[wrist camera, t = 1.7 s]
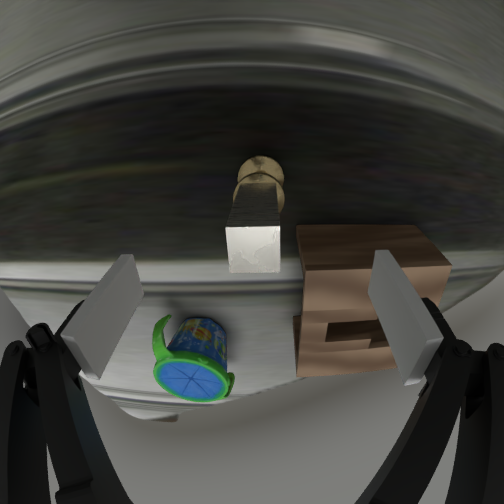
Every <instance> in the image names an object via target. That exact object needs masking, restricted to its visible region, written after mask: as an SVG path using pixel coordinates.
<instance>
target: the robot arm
mask: <svg viewBox="0 0 504 504" xmlns="http://www.w3.org/2000/svg"><path fill="white" fill-rule="evenodd" d="M367 293H368V295H369V297H370V299H371V302H372V304H373V306H374V309H375V311H376V313H377V316H378V318H379V321H380V323H381V325H382V328H383V330H384V333H385V335H386V338H387V340H388V343H389V346H390V348H391V351H392V353H393V356H394V359H395V362H396V364H397V367H398V370H399V373H400V375H401V378H402V381H403V384H404V385H410V384H415V383H419V382H420V380H421V379H422V377H423V375H424V374H425V377H426V379H427V382H426V384H425V385H424V387H423V389H422V390H421V391H420V393H419V399H418V401H417V403H416V405H415V407H414V409H413V411H412V413H411V415H410V417H409V419H408V421H407V423H406V425H405V427H404V429H403V430H402V432H401V434H400V436H399V438H398V439H397V442H396V443H395V445H394V446H393V448H392V450H391V451H390V453H389V455H388V456H387V458H386V460H385V461H384V463H383V465H382V466H381V467H380V469H379V470H378V472H377V473H376V475H375V477H374V478H373V479H372V481H371V482H370V484H369V485H368V486H367V488H366V489H365V490H364V492H363V493H362V495H361V496H360V497H359V499H358V500H357V501H356V502H355V504H418V502H419V500H420V499H421V497H422V495H423V493H424V491H425V490H426V488H427V486H428V484H429V482H430V480H431V478H432V476H433V474H434V472H435V470H436V468H437V466H438V464H439V462H440V459H441V457H442V455H443V452H444V450H445V448H446V446H447V443H448V441H449V438H450V435H451V433H452V430H453V427H454V425H455V422H456V419H457V416H458V413H459V410H460V407H461V412H460V424H459V434H458V441H457V449H456V455H455V461H454V466H453V472H452V477H451V481H450V486H449V490H448V494H447V498H446V501H445V504H504V346H503V345H502V344H499V343H493V344H491V345H490V346H489V347H488V349H487V351H474V350H473V349H472V347H471V346H470V345H469V344H468V343H467V342H465V341H463V340H459V339H456V337H455V335H454V334H453V332H452V330H451V328H450V327H449V325H448V323H447V322H446V320H445V319H444V318H443V315H442V314H441V313H440V311H439V309H438V307H437V306H436V304H435V303H434V302H432V301H431V300H430V299H429V298H428V297H425V298H420V296H419V295H418V293H417V292H416V290H415V289H414V287H413V285H412V284H411V282H410V281H409V279H408V278H407V276H406V275H405V273H404V272H403V270H402V269H401V267H400V266H399V264H398V263H397V262H396V260H395V259H394V257H393V256H392V254H391V253H390V251H389V250H375V256H374V262H373V267H372V273H371V278H370V283H369V288H368V292H367ZM143 296H144V292H143V288H142V285H141V282H140V278H139V275H138V271H137V268H136V264H135V260H134V257H133V254H126V255H121V256H120V257H119V258H118V259H117V261H116V262H115V263H114V264H113V265H112V267H111V268H110V269H109V270H108V272H107V273H106V274H105V275H104V277H103V278H102V279H101V280H100V282H99V283H98V284H97V285H96V287H95V288H94V289H93V290H92V292H91V293H90V294H89V296H88V297H87V298H86V300H82V301H81V302H80V303H78V304H77V305H76V306H75V307H74V308H73V310H72V311H71V312H70V314H69V315H68V316H67V319H65V321H64V322H63V323H62V325H61V326H60V328H59V329H58V330H57V332H56V333H55V335H53V333H52V331H51V330H50V328H49V326H48V325H47V324H46V323H38V324H36V325H34V326H32V327H31V328H30V329H29V330H28V332H27V333H26V339H27V341H28V342H29V344H30V345H31V347H32V348H26V347H25V345H24V344H23V342H22V341H20V340H17V341H14V342H11V343H10V344H9V345H8V346H7V348H6V349H5V352H4V355H3V358H2V362H1V365H0V504H51V500H50V491H49V481H48V470H47V469H48V468H47V446H48V450H49V454H50V457H51V461H52V464H53V468H54V471H55V475H56V478H57V481H58V484H59V491H57V492H56V493H55V499H56V503H57V504H133V502H132V501H131V500H130V499H129V497H128V496H127V493H126V492H125V490H124V488H123V486H122V484H121V482H120V480H119V478H118V476H117V474H116V472H115V470H114V468H113V466H112V463H111V461H110V459H109V456H108V454H107V452H106V449H105V447H104V445H103V442H102V440H101V438H100V435H99V432H98V429H97V427H96V424H95V421H94V418H93V416H92V412H91V410H90V406H89V404H88V400H87V397H86V394H85V390H84V387H83V384H82V380H81V378H80V376H79V375H78V374H79V372H80V370H81V369H82V371H83V372H84V374H85V375H86V377H88V378H93V379H97V380H100V378H101V376H102V374H103V372H104V370H105V367H106V365H107V363H108V361H109V359H110V357H111V355H112V354H113V352H114V350H115V348H116V346H117V344H118V342H119V340H120V338H121V336H122V334H123V332H124V330H125V329H126V327H127V325H128V323H129V321H130V319H131V317H132V316H133V314H134V312H135V310H136V308H137V307H138V305H139V303H140V301H141V299H142V298H143ZM23 382H24V383H25V388H23Z"/></svg>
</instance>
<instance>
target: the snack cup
mask: <svg viewBox="0 0 504 504" xmlns="http://www.w3.org/2000/svg"><path fill="white" fill-rule="evenodd" d="M170 318H171V315H167V316H165V317H163V318H162V319H160V320H159V321H158V322H157V323H156V324H155V327H154V331H153V340H152V345H153V351H154V355H155V357H156V360H157V362H156V364H155V367H154V370H153V374H154V377H155V379H156V381H157V382H158V384H159V385H160V386H161V387H162V388H163V389H165V390H166V391H167V392H169V393H171V394H172V395H174V396H177V397H179V398H182V399H185V400H189V401H194V402H211V401H215V400H220V399H224V398H226V397H228V396H229V394H230V392H231V390H232V387H233V384H234V380H235V376H234V374H233V373H231V372H229V373H227V345H226V334H225V332H224V331H223V329H222V328H221V327H220V326H219V325H218V324H216V323H214V322H213V321H212V320H211V319H209V318H207V319H203V318H192V319H189V318H188V319H187V320H185V321H184V323H182V324H181V326H180V327H179V329H178V330H177V332H176V334H175V335H174V337H173V338H172V340H171V342H170V343H169V345H168V347H167V348H166V345H165V339H164V334H163V328H164V327H165V325H166V323H167V322H168V320H169V319H170Z"/></svg>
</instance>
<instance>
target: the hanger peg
mask: <svg viewBox="0 0 504 504" xmlns="http://www.w3.org/2000/svg"><path fill="white" fill-rule="evenodd" d="M283 182H284V175H283V171H282V168H281V166H280V165H279V163H278V162H277V161H276V160H275V159H273V158H271V157H269V156H266V155H256V156H253V157H250V158H249V159H247V160H246V161H245V162H244V163H243V164H242V166H241V168H240V170H239V173H238V184H237V186H236V188H235V191H234V195H233V202H234V203H233V206H232V209H231V212H230V215H229V218H228V221H227V224H226V238H227V247H228V257H229V267H230V273H265V272H280V221H279V214H280V212H281V211H282V209H283V206H284V200H285V199H284V192H283V188H282V186H283Z"/></svg>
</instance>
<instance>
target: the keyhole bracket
mask: <svg viewBox="0 0 504 504" xmlns="http://www.w3.org/2000/svg"><path fill="white" fill-rule="evenodd" d="M296 238H297V243H298V248H299V254H300V259H301V265H302V271H303V277H304V283H303V298H302V312H301V316H293V333H294V346H295V360H296V376H297V377H311V376H327V375H340V374H350V373H361V372H369V371H377V370H385V369H392V368H398V367H397V364H396V362H395V359H394V356H393V353H392V351H391V348H390V346H389V343H388V340H387V338H386V335H385V333H384V330H383V328H382V325H381V323H380V321H379V318H378V316H377V313H376V311H375V309H374V306H373V304H372V302H371V299H370V297H369V295H368V293H367V292H368V288H369V283H370V278H371V273H372V267H373V262H374V256H375V250H389V251H390V253H391V254H392V256H393V257H394V259H395V260H396V262H397V263H398V264H399V266H400V267H401V269H402V270H403V272H404V273H405V275H406V276H407V278H408V279H409V281H410V282H411V284H412V285H413V287H414V289H415V290H416V292H417V293H418V295H419V296H420V298H425V297H428V298H429V299H430V300H431V301H432V302H434V303H435V304H436V306H437V307H438V305H439V302H440V300H441V297H442V294H443V291H444V289H445V286H446V283H447V280H448V277H449V274H450V271H451V268H452V264H451V263H450V262H449V261H448V260H447V259H446V258H445V256H444V255H443V254H442V253H441V252H440V251H439V250H438V249H437V248H436V247H435V245H434V244H433V243H432V242H431V241H430V240H429V239H428V238H427V237H426V236H425V235H424V234H423V233H422V232H421V231H420V230H419V229H418V228H417V227H416V226H415V225H296Z"/></svg>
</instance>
